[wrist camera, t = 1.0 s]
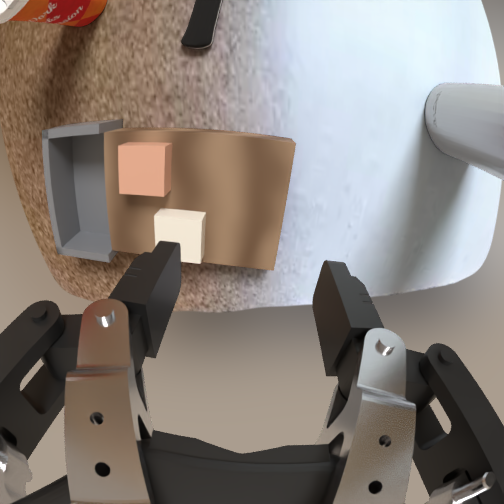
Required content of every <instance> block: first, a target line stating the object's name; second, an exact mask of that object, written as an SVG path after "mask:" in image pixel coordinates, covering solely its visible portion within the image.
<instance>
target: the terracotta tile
mask: <svg viewBox="0 0 504 504" xmlns="http://www.w3.org/2000/svg"><path fill="white" fill-rule="evenodd" d="M171 164H172V143H159V142H127V143H124V144H122V145H119V146H118V172H119V194H131V195H146V196H160V197H164V196H165V195H166V194H167V193H168V192H169V191H170V190H171Z"/></svg>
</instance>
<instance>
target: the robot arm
mask: <svg viewBox="0 0 504 504" xmlns="http://www.w3.org/2000/svg"><path fill="white" fill-rule="evenodd" d="M425 118H426V125H427V129H428V132H429V135H430V137H431V139H432V141H433V142H434V144H435V145H436V146H437V147H438V149H439V150H441V151H442V152H443V153H445V154H447V155H449V156H452V157H454V158H457V159H459V160H461V161H464V162H466V163H468V164H470V165H472V166H475V167H477V168H479V169H481V170H483V171H486V172H488V173H490V174H492V175H494V176H496V177H498V178H500V179H502V180H504V86H501V85H490V84H475V83H443V84H439V85H438V86H436V87H435V88H434V89H433V90H432V91H431V93H430V95H429V97H428V99H427V103H426V109H425ZM180 287H181V246H180V243H178V242H169V241H159V242H158V244H157V245H156V247H155V248H154V250H153V251H152V253H151V252H144V253H143V254H141V255H139V256H138V257H136V258H135V259H134V261H133V262H132V263H131V265H130V266H129V268H128V269H127V271H126V272H125V273H124V275H123V276H122V278H121V279H120V281H119V282H118V284H117V285H116V287H115V288H114V290H113V291H112V293H111V294H110V296H109V297H108V299H101V300H98V301H95V302H93V303H92V304H90V305H89V306H88V307H87V308H86V309H85V311H84V313H83V314H75V315H61V313H60V310H59V308H58V306H57V305H56V304H55V303H54V302H52V301H39V302H36V303H34V304H32V305H30V306H29V307H28V308H27V309H26V310H25V311H23V313H21V314H20V315H19V316H18V317H17V318H16V319H15V320H14V321H13V322H12V323H11V324H10V325H9V326H8V327H7V328H6V329H5V330H4V331H3V332H2V333H1V334H0V504H405V503H404V502H405V497H406V492H407V487H408V482H409V476H410V470H411V463H412V458H413V460H414V463H415V465H416V467H417V469H418V471H419V474H420V476H421V478H422V480H423V483H424V485H425V487H426V489H427V492H428V494H429V496H430V498H429V501H428V502H426V503H425V504H504V426H503V424H502V422H501V421H500V419H499V417H498V416H497V414H496V412H495V411H494V409H493V407H492V406H491V404H490V403H489V401H488V399H487V398H486V396H485V395H484V393H483V391H482V390H481V388H480V387H479V386H478V384H477V382H476V381H475V380H474V378H473V377H472V375H471V374H470V372H469V371H468V369H467V368H466V367H465V366H464V364H463V362H462V361H461V360H460V358H459V357H458V355H457V354H456V353H455V352H454V351H453V350H452V349H451V348H450V347H448V346H446V345H444V344H439V343H436V344H433V345H431V346H430V347H429V349H428V350H427V352H426V353H425V354H424V353H420V352H416V351H412V350H408V349H406V347H405V344H404V342H403V341H402V339H401V338H400V337H399V336H398V335H397V334H395V333H394V332H392V331H390V330H388V329H384V326H383V324H382V322H381V320H380V317H379V315H378V313H377V311H376V309H375V307H374V305H373V304H372V301H371V298H370V296H369V294H368V292H367V290H366V288H365V285H364V284H363V283H362V282H361V281H360V280H359V279H358V278H356V277H354V276H351V275H350V273H349V270H348V268H347V266H346V264H345V263H344V262H336V261H327V260H325V261H324V263H323V265H322V268H321V272H320V275H319V278H318V282H317V285H316V288H315V292H314V295H313V312H314V317H315V321H316V326H317V331H318V336H319V341H320V346H321V350H322V356H323V361H324V367H325V372H326V376H337V377H338V381H339V382H338V384H337V385H336V387H335V390H334V392H333V396H332V399H331V403H330V406H329V409H328V413H327V416H326V419H325V422H324V425H323V428H322V431H321V434H320V436H319V438H318V439H317V441H316V443H315V445H291V446H290V445H288V446H282V447H278V448H273V449H268V450H263V451H258V452H252V453H244V454H241V453H236V452H233V451H230V450H226V449H223V448H221V447H218V446H215V445H212V444H209V443H206V442H204V441H201V440H199V439H196V438H190V437H185V436H178V435H173V434H169V433H164V432H160V431H155V430H154V428H153V425H152V422H151V417H150V413H149V407H148V402H147V395H146V389H145V382H144V375H143V368H142V364H143V362H144V359H145V356H146V357H151V358H156V355H157V353H158V350H159V347H160V344H161V341H162V338H163V335H164V333H165V330H166V327H167V324H168V322H169V319H170V316H171V313H172V311H173V308H174V305H175V303H176V300H177V297H178V295H179V292H180ZM40 358H41V360H42V362H43V363H44V365H43V366H42V367H41V368H40V369H39V370H38V372H37V373H36V374H35V375H34V377H33V378H32V379H31V380H30V381H29V382H28V384H27V385H26V386H25V388H24V389H23V390H22V391H20V383H21V381H22V379H23V378H24V377H25V375H26V374H27V373H28V372H29V370H30V369H31V368H32V367H33V366H34V365H35V364H36V363H37V361H38V360H39V359H40ZM436 397H437V399H438V400H439V402H440V404H441V405H442V407H443V409H444V411H445V412H446V414H447V416H448V418H449V419H450V421H451V425H452V426H451V431H450V433H449V434H447V433H445V432H444V430H443V428H442V426H441V425H440V423H439V421H438V419H437V418H436V416H435V414H434V412H433V410H432V409H431V407H430V405H429V404H430V403H431V402H432V401H433V400H434V399H435V398H436ZM63 406H64V434H65V435H64V436H65V454H66V468H67V475H65V476H63V477H62V478H60V479H58V480H56V481H54V482H52V483H51V484H49V485H47V486H45V487H43V488H41V489H39V490H37V491H35V492H33V493H31V494H29V495H26V491H25V485H26V482H29V481H31V479H32V472H31V470H30V469H29V466H28V462H27V460H28V458H29V457H30V455H31V454H32V452H33V450H34V449H35V448H36V446H37V444H38V443H39V441H40V440H41V438H42V437H43V435H44V434H45V432H46V431H47V429H48V428H49V427H50V425H51V424H52V422H53V421H54V419H55V418H56V416H57V415H58V414H59V412H60V411H61V409H62V408H63Z"/></svg>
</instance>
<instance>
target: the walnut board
mask: <svg viewBox="0 0 504 504" xmlns="http://www.w3.org/2000/svg"><path fill="white" fill-rule="evenodd" d="M127 142H159V143H172V164H171V190H170V191H169V192H168V193H167V194H166V195H165V196H164V197H160V196H146V195H131V194H119V172H118V146H119V145H122V144H124V143H127ZM295 145H296V143H295V142H294V141H293V140H292V139H290V138H284V137H277V136H270V135H262V134H254V133H245V132H235V131H224V130H211V129H193V128H121V129H116V130H112V131H108V132H104V168H105V188H106V202H107V213H108V222H109V231H110V239H111V246H112V250H114V251H121V252H128V253H136V254H143V253H144V252H151V253H152V251H153V250H154V248H155V228H154V215H155V214H156V213H157V212H158V211H159V210H160V209H161V208H167V209H178V210H188V211H198V212H206V223H205V246H204V256H203V258H202V261H201V262H206V263H214V264H222V265H231V266H239V267H248V268H257V269H265V270H274V266H275V260H276V255H277V250H278V244H279V239H280V233H281V228H282V222H283V217H284V211H285V205H286V200H287V194H288V188H289V182H290V176H291V170H292V164H293V158H294V152H295Z"/></svg>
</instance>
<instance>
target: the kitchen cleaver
mask: <svg viewBox="0 0 504 504" xmlns="http://www.w3.org/2000/svg"><path fill="white" fill-rule="evenodd" d="M221 3H222V0H196V2H195V5H194V8H193V12H192V15H191V18H190V21H189V25H188V27H187V30H186V32H185V34H184V36H183V38H182V41H181V43H182V44H183V45H184V46H185V47H188V48H192V49H204V48H207V47H209V46H210V45H211V44H212V42H213V37H214V31H215V27H216V23H217V19H218V15H219V11H220V7H221Z"/></svg>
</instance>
